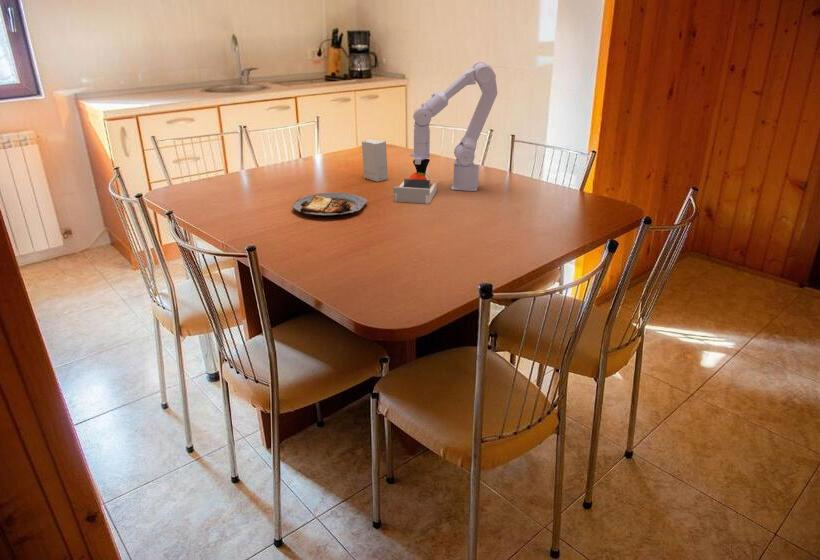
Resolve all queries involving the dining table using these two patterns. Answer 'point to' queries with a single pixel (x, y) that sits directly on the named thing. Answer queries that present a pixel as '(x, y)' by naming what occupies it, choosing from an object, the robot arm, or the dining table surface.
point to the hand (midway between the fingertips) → (421, 179)
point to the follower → (417, 183)
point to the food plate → (321, 202)
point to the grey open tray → (414, 194)
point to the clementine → (418, 176)
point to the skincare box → (375, 160)
